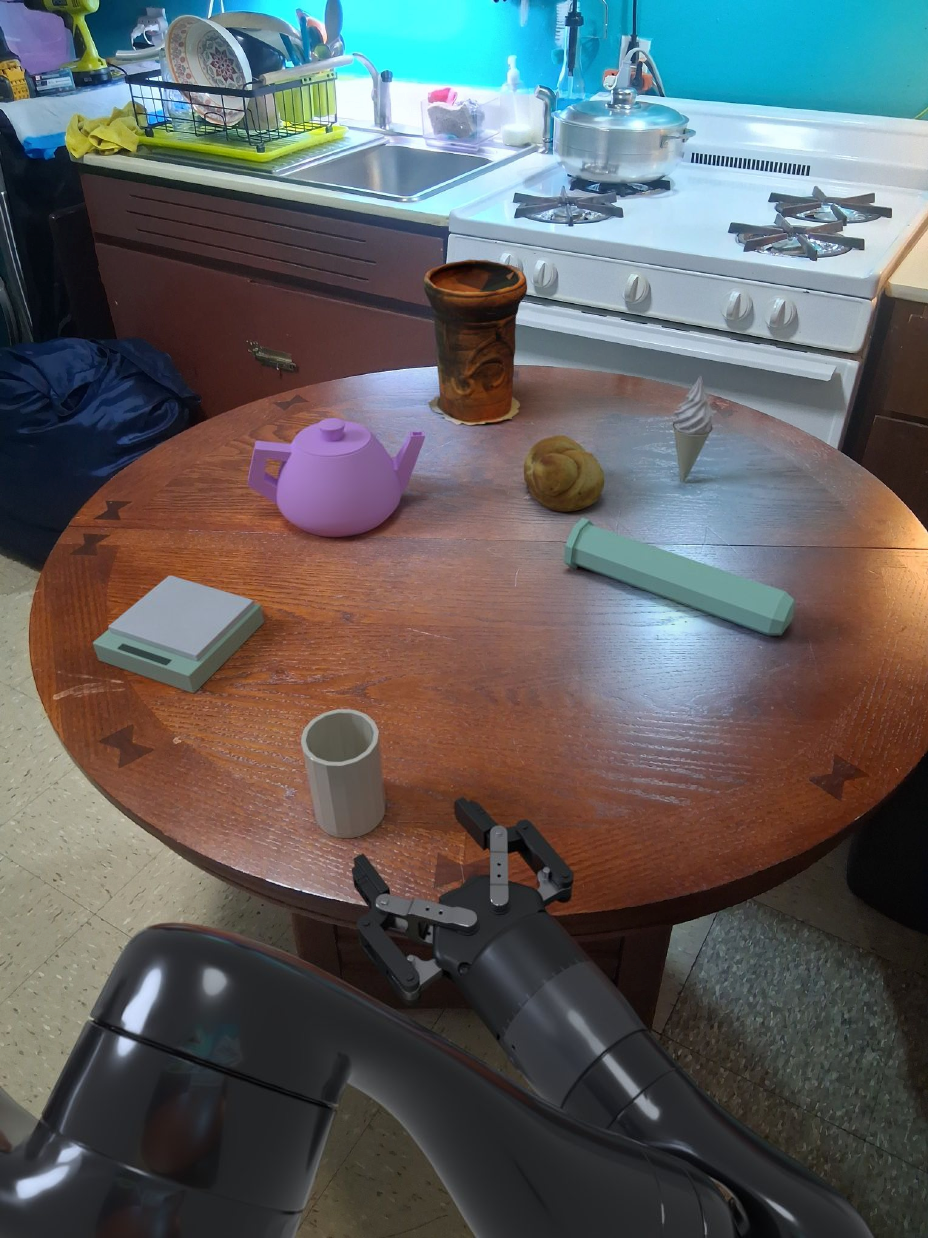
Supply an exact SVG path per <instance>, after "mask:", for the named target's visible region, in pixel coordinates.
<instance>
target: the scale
mask: <svg viewBox="0 0 928 1238" xmlns="http://www.w3.org/2000/svg"><path fill="white" fill-rule="evenodd" d="M263 614H264V613H263V609H262V605H261V604H259V603H256V602H254V599H251V598H248V597H245V596H241V595H237V594H234V593H231V592H228V591H225V590H222V589H217V588H214V587H211V586H207V585H205V584H201V583H197V582H194V581H191V580H188V579H184V578H181V577H178V576H174V575H170V574H169V575H168V576H167V577H165V578H164V579H162V581H160V583H158V584H157V585H156V586H154V587H153V588H152V589H151V590H150V591H148V593H146V594H145V595H143V597H141V598H140V599H139V600H138V601H136V603H134V604H133V605H132V606H131V607H129V608H128V609H127V610H126V611H125V612H123V613H122V614H121V615H120V616H119V617H118V618H117V619H115V620H114V621H112V622H111V623H110V624H109V625H108V627H107V628H108V629H107V630H106V631H104V632H103V633H102V634H101V635H100V636H99V637H97V638H96V639H95V640H94V641H93V642H92V645H93V648H94V652H95V654H96V657H97V659H98V661H99V662H102V663H106V664H108V665H110V666H113V667H116V668H119V669H122V670H125V671H128V672H131V673H134V674H137V675H139V676H143V677H145V678H148V679H151V680H154V681H156V682H159V683H161V684H165V685H168V686H170V687H174V688H176V689H180V690H182V691H184V692H188V693H191V694H195V693H196V692H198V691H199V689H200V688H201V687H202V686H204V684H205V683H206V682H207V681H208V680H209V679H211V678H212V676H213V675H214V674H215V673H216V672H217V671H218V670H219V669H220V668H221V667H222V666H223V665H224V664H225V663H226V662H227V660H229V659H230V658H231V657H232V656H233V655H234V654H235V653H236V652H237V651H238V650H239V649H240V648H241V646H243V644H244V643H246V642H247V641H248V639H250V638H251V636H253V634H255V632H257V630H259V628H260V627H262V625H263V624H264V623H265V619H264V615H263Z"/></svg>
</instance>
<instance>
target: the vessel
mask: <svg viewBox="0 0 928 1238" xmlns="http://www.w3.org/2000/svg"><path fill="white" fill-rule="evenodd" d="M423 290H424V293H425V295H426V297H427V299H428V301H429V304H430V308H431V310H432V314H433V317H434V318H433V321H434V334H435V335H434V336H435V343H436V344H435V359H436V360H435V361H436V367H437V374H438V389H439V395H438V396H434V399H432V400H430V401H428V402H427V403H428V405H429V406H430V408H431V409H432V411H434V412H435V413H438V414H442V415H441V417H442V418H444V421H449V422H451V423H453V424H454V425H456V426H458V425H461V424H464V425H467V426H474V425H477V424H478V425H483V424H484V425H485V424H486V423H498V422H502V421H506V420H513V418H512V417H514V416H516V415H517V414H518V413H519V412H520V411H519V408H520V406H521V403H520V401H518V400H517V399H515V397H514V396H513V386H514V385H513V383H514V376H515V375H514V374H515V355H516V329H517V314H518V313H519V307H520V305H521V303H522V302H523V300H524V299H525V297H526V295H527V292H528V280H527V277H526V275H525V273H524V272H523V271H522V270H521V268H519V267H518V266H517V267H516V266H514V265H512V264H503V263H500V262H495V261H491V260H488V259H471V258H470V259H465V260H460V261H452V262H447V263H444V264H442V265H440V266H436V267H433V268H431V269H430V270H428V271H427V272H426V274H425V275H424V278H423Z"/></svg>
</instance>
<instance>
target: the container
mask: <svg viewBox="0 0 928 1238" xmlns="http://www.w3.org/2000/svg"><path fill="white" fill-rule="evenodd" d="M569 533H570V534H569V536H568V538H567V541H566V543H565V545H564V554H563V563H564V564H565V565H566V566H567V567H569V568H571V569H573V570H574V569H575V570H576V569H577V568H578V567H580V568H583V569H586V570H588V571H590V572H594V573H596V574H599V575H602V576H605V577H607V578H610V579H613V580H616V581H618V582H621V583H624V584H627V585H630V586H632V587H635V588H637V589H640V590H643V591H646V592H649V593H651V594H654V595H657V596H659V597H662V598H665V599H667V600H670V601H672V602H676V603H678V604H681V605H684V606H687V607H689V608H691V609H695V610H697V611H700V612H702V613H706V614H708V615H711V616H714V617H716V618H720V619H722V620H725V621H727V622H730V623H732V624H736V625H739V626H741V627H744V628H747V629H750V630H752V631H755V632H756V633H761V634H763V635H765V636H769V637H776V636H777V637H779V636H782V635H783V634H784V632H785V630H786V629H787V628H788V626H789V625H790V624H791V622H792V621H793V620H794V611H795V603H796V601H795V598H793V597H792V596H791V595H790V594H789V593H788V592H787V591H785V590H782V589H780V588H776V587H773V586H770V585H768V584H764V583H762V582H758V581H756V580H753V579H750V578H747V577H745V576H741V575H739V574H736V573H732V572H730V571H726V570H723V569H721V568H718V567H715V566H712V565H710V564H706V563H703V562H700V561H697V560H694V559H692V558H688V557H686V556H683V555H679V554H677V553H674V552H671V551H668V550H665V549H662V548H659V547H658V546H657V547H656V546H654V545H650V544H648V543H645V542H642V541H640V540H636V539H633V538H631V537H628V536H625V535H622V534H618V533H616V532H614V531H610V530H608V529H605V528H601V527H599V526H595V525H594V523H593V522H592V521H591V520H590V519H587V518H585V517H581V518H580V519H579V520H578V521H577V523H576V524H574V525H573V526H572V529H571V531H570V532H569Z"/></svg>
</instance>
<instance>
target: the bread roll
mask: <svg viewBox="0 0 928 1238" xmlns="http://www.w3.org/2000/svg"><path fill="white" fill-rule="evenodd" d="M523 478H524V482H525V485H526V487H527V489H528V491H529V493H530V494H531V496H532V497H533V498H534V500H535V501H536V502H537V503H539V505H540V506H542V507H544V508H546V509H549V510H552V511H555V512H564V513H565V512H575V511H580V510H583V509H584V508H588V507H590V506H591V505H592V504H595V503H596V502H597V501H598V500H599V498H600V497H601V495H602V493H603V490H604V486H605V474H604V470H603V466H601V463H600V462H599V461H598V459H597V458H596V457H595V456H594V454H593V453H591V452H588V451H586V450H585V448H584V447H583V445H581V444H580V443H578V442H577V441H575V440H573V439H572V438H570V437H568V436H566V435H554V436H551V437H546V438H542V439H540V440H539V441H537V442H536V443H535V444H534V445H532V446H531V448H530V449H529V451H528V452H527V454H526V456H525V460H524V464H523Z"/></svg>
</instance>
